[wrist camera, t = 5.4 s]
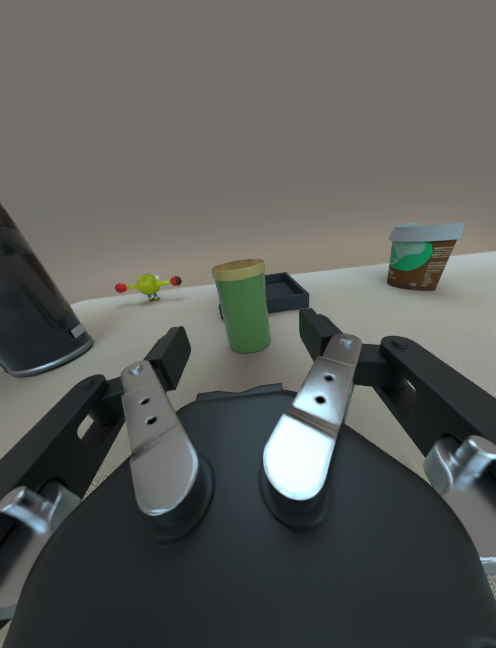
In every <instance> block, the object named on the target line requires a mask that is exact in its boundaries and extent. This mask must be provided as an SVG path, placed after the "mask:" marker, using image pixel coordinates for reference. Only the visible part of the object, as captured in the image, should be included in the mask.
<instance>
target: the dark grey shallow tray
mask: <svg viewBox="0 0 496 648" xmlns="http://www.w3.org/2000/svg"><path fill="white" fill-rule="evenodd" d="M265 284H266V295H267V306H268V313H271V312H278V311H286V310H293V309H300V308H307V307H309V293H308V292H307V291H306V290H304V289H303V288H302V287H301V286H300V285H299V284H298V283H297V282H296V281H295V280H294V279H293V278H292V277H291V276H289V275H288V274H287V273H286V272H284V273H277V274H270V275H265ZM219 309H220V314H221V318H222V319H223V314H222V310H221V306H220V304H219Z"/></svg>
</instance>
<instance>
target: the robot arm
mask: <svg viewBox="0 0 496 648" xmlns="http://www.w3.org/2000/svg"><path fill="white" fill-rule="evenodd" d="M299 332H300V337H301V339H302V341H303V343H304V345H305V347H306V348H307V350H308V352H309V354H310V356H311V358H312V359H313V361H314V364H313V366H312V368H311V369H310V371H309V373H308V375H307V377H306V379H305V381H304V383H303V384H302V386H301V388H300V390H299V392H298V393H297V392H294V391H290V390H283V387H282V383H277V384H269V385H262V386H258V387H255V388H252V389H249V390H246V391H243V392H240V393H234V392H223V391H214V392H206V393H199V394H197V398H196V401H194V402H191V403H189V404H187V405H185V406H184V407H182V408H181V409H179V410H178V411H177V412H175V410H174V409H173V407H172V405H171V403H170V401H169V399H168V397H167V395H166V392H167V391H171V390H176V387H177V385H178V383H179V380H180V378H181V375H182V373H183V370H184V368H185V366H186V363H187V361H188V358H189V356H190V353H191V346H190V343H189V340H188V337H187V334H186V332H185V329H184V327H183V326H180V327H173V328H170V330H169V331H168V332H167V334H166V335H165V336H163V337H162V338H161V339H159V340H158V341H157V343H156V344H155V346H153V348H152V350H150V352H149V353H148V354H147V356H146V357H145V358H144V360H143V361H139V362H136V363H133V364H131V365H130V366H128V367H127V368H126V369H124V370H123V372H122V373H121V377H118V378H115V379H112V380H109V381H107V380H106V378H105V377H104V376H103V375H101V374H98V375H93V376H91V377H88V378H86V379H84V380H82V381H81V382H79V383H78V384H76V385H75V386H74V387H73V388H72V389H71V390H70V391H69V392H68V393H67V394H66V395H65V396H64V397H63V398H62V399H61V400H60V401H59V402H58V403H57V404H56V405H55V406H54V407H53V408H52V409H51V410H50V411H49V412H48V413H47V414H46V415H45V416H44V417H43V418H42V419H41V420H40V421H39V422H38V423H37V424H36V425H35V426H34V427H33V428H32V429H31V430H30V431H29V432H28V433H27V434H26V435H25V436H24V437H23V438H22V439H21V440H20V441H19V442H18V443H17V444H16V445H15V446H14V447H13V448H12V449H11V450H10V451H9V452H8V453H7V454H6V455H5V456H4V457H3V458H2V459H1V460H0V629H1V628H3V627H4V626H5V625H6V624H7V623H8V622H9V621H10V620H11V619H12V618H13V619H12V622H11V625H10V627H9V630H8V633H7V636H6V638H5V641H4V644H3V646H2V648H496V600H495V598H494V595H493V593H492V591H491V588H490V585H489V583H488V580H487V577H486V575H496V398H494V397H493V396H491V395H490V394H489V393H487V392H486V391H484V390H483V389H481V388H480V387H479V386H477V385H476V384H474V383H473V382H471V381H470V380H469V379H467V378H466V377H464V376H463V375H461V374H460V373H459V372H457V371H456V370H454V369H453V368H451V367H450V366H449V365H447V364H446V363H444V362H443V361H441V360H440V359H439V358H437V357H436V356H434V355H433V354H432V353H430V352H429V351H427V350H426V349H424V348H423V347H422V346H420V345H419V344H417V343H416V342H414V341H412V340H410V339H408V338H404V337H399V336H387V337H384V338H383V339H382V340H381V344H380V345H373V344H362V341H361V340H360V339H359V338H358V337H356V336H353V335H349V334H343V333H342V332H341V331H340V330H339V329H338V328H337V327H336V326H335V325H334V324H333V323H332V322H331V321H330V320H329V319H328V318H327V317H326V316H324V315H321V314H318V315H317V314H316V312H315V311H314V310H313V309H312V308H309V309H302V310H300V311H299ZM92 344H93V339H92V338H91V336H90V335H88V333H87V332H86V329H85V327H84V326H83V324H82V323H81V322H80V321H79V319H78V317H77V316H76V314H75V313H74V311H73V310H72V308H71V307H70V305H69V304H68V302H67V301H66V299H65V297H64V296H63V294H62V293H61V291H60V290H59V288H58V287H57V285H56V284H55V282H54V280H53V279H52V277H51V276H50V274H49V273H48V271H47V270H46V268H45V267H44V265H43V264H42V262H41V260H40V259H39V258H38V256H37V254H36V253H35V251H34V250H33V248H32V247H31V245H30V244H29V242H28V241H27V239H26V238H25V236H24V234H23V233H22V232H21V230H20V228H18V225H17V224H16V222H15V221H14V219H13V218H12V216H11V215H10V213H9V212H8V210H7V208H6V207H5V205H4V204H3V202H2V200H1V199H0V366H1V367H2V368H3V369H4V370H5V371H6V372H7V373H10V374H11V375H12V376H14V377H26V376H31V375H35V374H39V373H42V372H45V371H48V370H51V369H53V368H56V367H58V366H60V365H62V364H65V363H67V362H69V361H70V360H72V359H74V358H76V357H78V356H79V355H81V354H82V353H84V352H85V351H86V350H88V349H89V348H90V347H91V346H92ZM408 381H409V382H410V383H411V384H412V385H413V386H414V388H415V390H416V391H415V390H414V389H413V388H412V387H411V386H410V385H409V384H408V383H407V382H408ZM354 385H363V386H371V387H373V389H374V390H375V391H376V393H377V394H378V395H379V397H380V398H381V399H382V401H383V402H384V403H385V405H386V406H387V407H388V409H389V410H390V411H391V413H392V414H393V415H394V417H395V418H396V419H397V421H398V422H399V423H400V425H401V426H402V427H403V429H404V430H405V431H406V433H407V434H408V435H409V437H410V438H411V439H412V441H413V442H414V443H415V445H416V446H417V447H418V449H419V450H420V451H421V453H422V454H423V455H424V457H425V460H424V463H423V467H424V471H425V474H426V476H427V478H428V479H429V481H430V483H431V485H432V486H431V485H429V484H428V483H427V482H426V481H425V480H424V479H422V478H421V477H420V476H418V475H417V474H416V473H414V472H413V471H412V470H410V469H409V468H407V467H406V466H405V465H403V464H402V463H400V462H399V461H397V460H396V459H395V458H393V457H392V456H390V455H389V454H387V453H386V452H385V451H383V450H382V449H380V448H379V447H377V446H376V445H375V444H373V443H372V442H370V441H369V440H367V439H366V438H365V437H363V436H362V435H360V434H359V433H357V432H356V431H355V430H353V429H352V428H350V427H349V426H347V425H346V419H347V414H348V410H349V406H350V401H351V397H352V393H353V389H354ZM87 415H89V416H90V417H91V418H92V419H93V420H94V422H93V423H92V425H91V426H90V428H89V429H88V430H87V432H86V433H85V435H84V436H83V437H82V439H80V438H79V437H78V435H77V430H78V427H79V425H80V424H81V422H82V421H83V420H84V419H85V417H86V416H87ZM125 421H126V425H127V431H128V436H129V441H130V446H131V452H132V454H131V455H130V456H129V457H128V458H127V459H126V460H125V461H124V462H123V463H122V464H121V465H120V466H119V467H118V468H117V469H116V470H115V471H114V472H113V473H111V474H110V475H109V476H108V477H107V478H106V479H105V480H104V481H103V482H102V483H101V484H100V485H99V486H98V487H97V488H96V489H95V490H94V491H93V492H92V493H91V494H90V495H89V496H87V497H86V498H85V499H84V500H83V501H82V499H83V497H84V495H85V493H86V491H87V490H88V488H89V486H90V484H91V482H92V481H93V479H94V477H95V475H96V473H97V471H98V470H99V468H100V466H101V464H102V462H103V461H104V459H105V457H106V455H107V453H108V451H109V450H110V448H111V446H112V444H113V442H114V441H115V439H116V437H117V435H118V433H119V431H120V430H121V428H122V426H123V424H124V422H125ZM81 501H82V502H81Z"/></svg>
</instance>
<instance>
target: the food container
mask: <svg viewBox="0 0 496 648" xmlns="http://www.w3.org/2000/svg"><path fill="white" fill-rule="evenodd" d="M463 224H464V222H462V223H453V224H443V225H432V226H419V225H420V222H414V223H408V224H402V225H397V226H395V229H394V230H393V231H392V233H391V235H390V237H389V240H391V241H393V242H392V249H391V257H390V264H389V271H388V279H387V283H388V284H390V285H392V286H395V287H398V288H403V289H410V290H435V288H436V286H437V284H438V282H439V279H440V277H441V275H442V272H443V270H444V268H445V266H446V263H447V261H448V259H449V257H450V254H451V252H452V250H453V247H454V245H455V243H456V241H457V239H461V236H462V231H463V228H462V227H463Z"/></svg>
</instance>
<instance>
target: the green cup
mask: <svg viewBox="0 0 496 648" xmlns="http://www.w3.org/2000/svg"><path fill="white" fill-rule="evenodd" d="M211 270H212V274H213V278H214V279H215V283H216V288H217V292H218V297H219V301H220V306H221V310H222V314H223V319H224V323H225V328H226V332H227V337H228V341H229V345H230V347H231V349H232V350H234V351H236V352H239V353H254V352H257V351H260V350H262V349H264V348H265V347H267V346H268V344H269V343H270V340H271V338H270V327H269V316H268V306H267V295H266V284H265V275H264V271H265V264H264V261H263V260H261V259H248V260H239V261H233V262H228V263H224V264H221V265H218V266H215V267H213V268H212V269H211Z"/></svg>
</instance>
